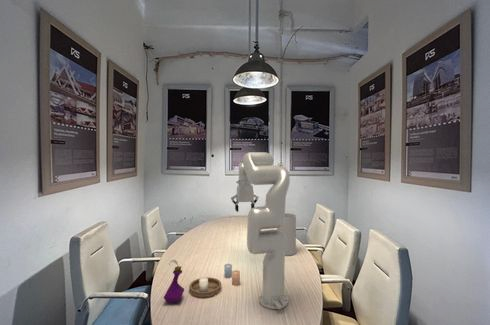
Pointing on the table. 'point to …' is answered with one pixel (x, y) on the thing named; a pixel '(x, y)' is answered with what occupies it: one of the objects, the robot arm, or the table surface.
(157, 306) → the table surface
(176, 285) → the perfume bottle
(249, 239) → the robot arm
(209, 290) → the groove tray
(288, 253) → the cylinder vase
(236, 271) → the bead terracotta
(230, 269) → the bead slate
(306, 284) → the table surface
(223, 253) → the table surface
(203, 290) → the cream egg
